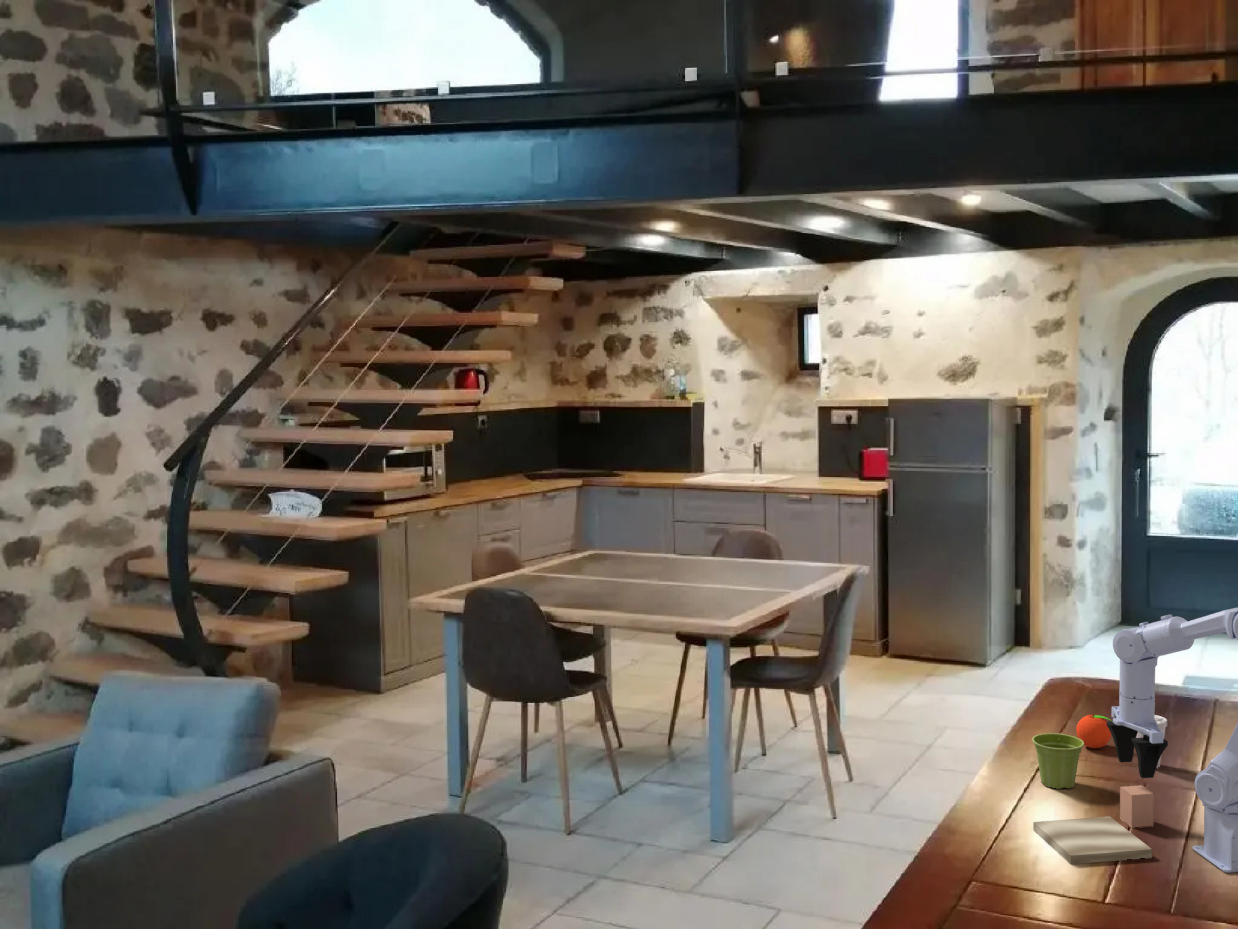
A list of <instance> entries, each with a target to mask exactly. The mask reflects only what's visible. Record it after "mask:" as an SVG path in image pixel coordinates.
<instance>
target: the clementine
mask: <svg viewBox="0 0 1238 929" xmlns="http://www.w3.org/2000/svg"><path fill="white" fill-rule="evenodd" d="M1108 721H1113V719H1111V718H1108V717H1107V716H1103V715H1097V714H1088V715H1085V716H1083V717H1082V718H1081V719H1080V720H1078V723H1077V724H1076V731H1075V732H1076V736H1077V738H1079V739H1081V740H1082V741H1083V742H1084V746H1085V747H1087V748H1091V749H1101V748H1103V747H1105V746H1106V745H1108V743H1109V742H1110V741H1111V738H1112V734H1111V732H1110V730H1109V728H1108V727H1107V722H1108Z"/></svg>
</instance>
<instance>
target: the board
mask: <svg viewBox="0 0 1238 929" xmlns="http://www.w3.org/2000/svg"><path fill="white" fill-rule="evenodd" d="M1033 831H1034V832H1035V833H1036V834H1037V835H1038V836H1039V837H1040V838H1042V839H1043V841H1044V842H1045V843H1046V844H1048V845H1049V846H1050V847H1051V848H1052V849H1053V850H1054V851H1056V853H1058V854H1059V855H1060V857H1062V858H1063V859H1064V860H1065V861H1066V862H1068V864H1070V865H1078V864H1091V863H1104V862H1116V861H1128V860H1127V859H1132V860H1141V859H1140V858H1145V859H1152V858H1153V849H1152V848H1151V847H1150V846H1149V845H1148V844H1146V843H1145V842H1143V841H1142V840H1141V839H1139V837H1137V836H1135V834H1133V833H1132V832H1130V831H1129V830H1128V829H1127V828H1125V827H1124V826H1122V825H1121V824H1120V823H1119V822H1117V820H1115V819H1114V818H1113V817H1111V816H1096V817H1083V818H1069V819H1055V820H1043V821H1033Z"/></svg>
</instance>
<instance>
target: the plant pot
mask: <svg viewBox="0 0 1238 929" xmlns="http://www.w3.org/2000/svg"><path fill="white" fill-rule="evenodd" d="M1031 742H1032V743H1033V744H1034V748H1035V751H1036V756H1037V761H1038V763H1037V764H1038V768H1039V776H1040V782H1041V783H1042V784H1043V785H1044V786H1045V785H1046V786H1045V787H1047V786H1048V787H1047V788H1051V787H1052V789H1055V788H1056V789H1057V790H1061V789H1063V788H1066V789H1072V788H1073V787H1075V783H1076V779H1077V778H1076V777H1077V772H1078V766H1079V759H1080V754H1081V753H1082V748H1084V746H1085V745H1084V742H1083V741H1082V740H1081V739H1079V738H1078V736H1077V737H1076V736H1073V735H1069V734H1065V733H1056V732H1055V733H1052V732H1051V733H1040V734H1037V735H1034V736H1032V738H1031ZM1071 787H1072V788H1071Z"/></svg>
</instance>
